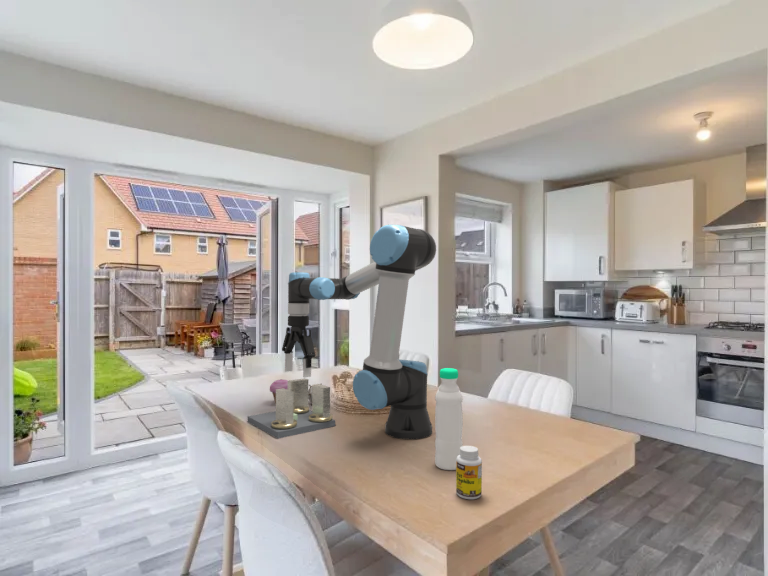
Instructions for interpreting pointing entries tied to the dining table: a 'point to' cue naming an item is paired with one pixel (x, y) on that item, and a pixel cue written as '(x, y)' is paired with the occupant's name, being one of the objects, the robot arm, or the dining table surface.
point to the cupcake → (278, 386)
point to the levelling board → (303, 426)
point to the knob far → (299, 395)
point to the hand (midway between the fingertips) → (297, 374)
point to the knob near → (284, 410)
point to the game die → (310, 394)
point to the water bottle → (448, 420)
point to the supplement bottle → (468, 473)
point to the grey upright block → (320, 404)
